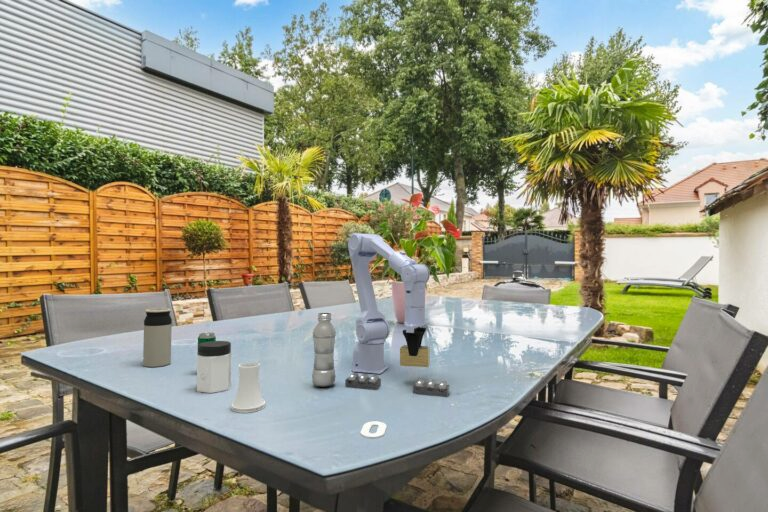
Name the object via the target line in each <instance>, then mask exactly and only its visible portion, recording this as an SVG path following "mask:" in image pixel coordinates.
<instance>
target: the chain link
mask: <svg viewBox="0 0 768 512" xmlns="http://www.w3.org/2000/svg"><path fill="white" fill-rule="evenodd" d="M372 427H377V430H376V431H375V432H373V433H372V432H371V430H372ZM387 428H388V426H387V424H386V423H384V422H382V421H376V420H375V421H368V422H365V423H364V424H363V426H362V427H361V430H360V436H361V437H363V438H366V439H379V438H382V437H384V436H385V434H386V431H387Z"/></svg>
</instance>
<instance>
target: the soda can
mask: <svg viewBox="0 0 768 512" xmlns="http://www.w3.org/2000/svg"><path fill="white" fill-rule="evenodd" d="M216 339H217V338H216V335H215V332H201V333H199V334H198V337H197V347H198V346H199V344H200V343H204V342H210V341H217V340H216ZM196 355H197V356H198V355H199V354H198V352H197V354H196ZM197 356H196V357H197Z"/></svg>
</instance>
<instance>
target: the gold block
mask: <svg viewBox="0 0 768 512" xmlns="http://www.w3.org/2000/svg"><path fill="white" fill-rule="evenodd" d="M430 348H431V347H430V346H428V345H421V346H420V347H419V349H418V354H417V356H409V352H408V346H407V344H404V345H402V346H400V348H399V366H400V367H412V368H413V367H414V368H416V367H417V368H429V367H430V366H431V364H430V363H431V360H430V359H431V358H430V357H431V356H430V355H431V353H430V352H431V351H430V350H431V349H430Z"/></svg>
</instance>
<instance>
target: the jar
mask: <svg viewBox="0 0 768 512" xmlns="http://www.w3.org/2000/svg"><path fill="white" fill-rule="evenodd" d="M231 348H232V342H230V341H227V340H226V341H225V340H216V341H210V342H204V343H200V344H199V346H198V345H197V353H198V354H199V355H198V356H196V358H197V359H196V363H197V364H196V365H197V367H196V368H197V369H196V392H198V393H205V394H207V393H208V394H214V393H220V392H224V391H228V390H229V388H230V386H231V385H232V381H231V378H232V349H231Z"/></svg>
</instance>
